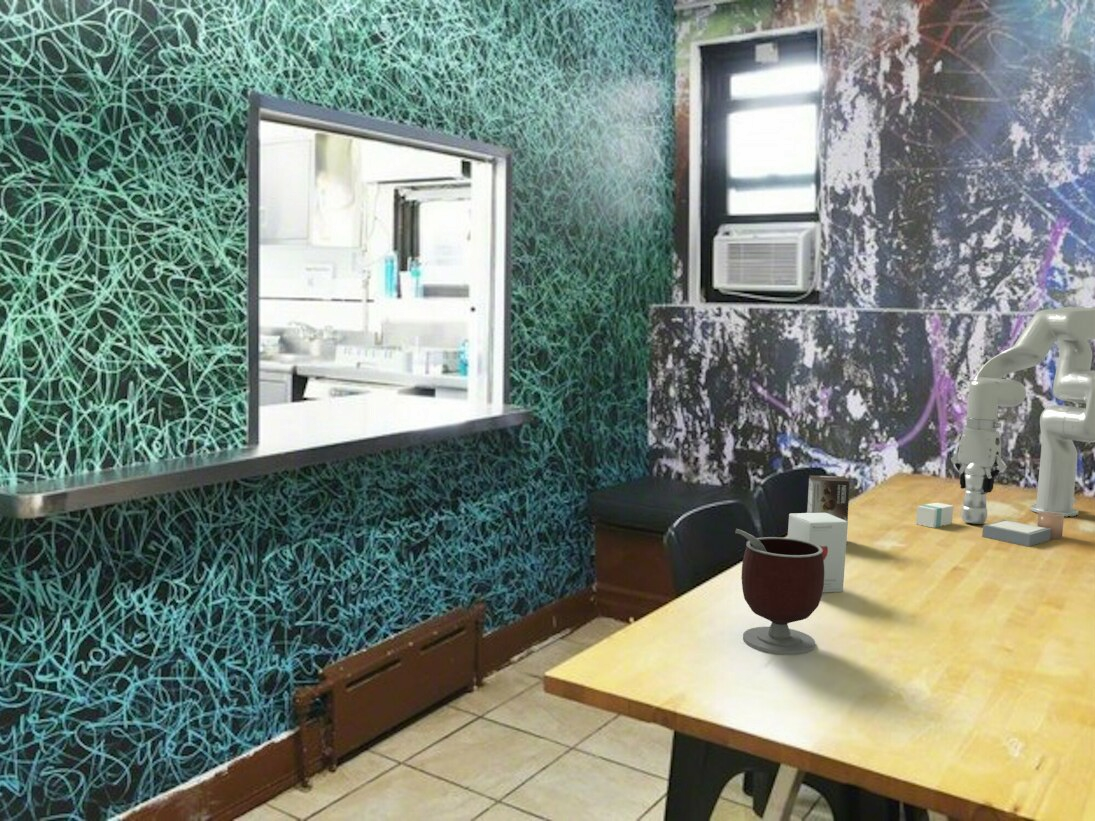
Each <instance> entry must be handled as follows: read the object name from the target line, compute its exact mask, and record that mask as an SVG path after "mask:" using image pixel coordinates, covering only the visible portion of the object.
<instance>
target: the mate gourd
mask: <svg viewBox="0 0 1095 821" xmlns="http://www.w3.org/2000/svg"><path fill="white" fill-rule="evenodd" d="M735 534H738V535H741V536H743V537H744V538H745V539H747V541H746V548H745V550H744V553H743V559H742V565H741V587H742V588H741V589H742V595H743V598H744V601H745V602H746V603H747V606H749V608H750V609H751V611H752V612H753V613H754V614H755V615H757V616H759V617H761V618H764V619H766V620H767V621H769V622H771V624H770V625H769V626H757V627H756V626H755V627H751V628H749V629H747V630H745V631H744V632H742V633H743V634H742V640H743V642H744V643H745V645H747V646H749V647H751V648H752V649H755V650H757V651H760V652H764V653H769V654H773V655H774V654H775V655H781V656H782V655H783V656H784V655H785V656H786V655H787V656H792V655H793V656H795V655H796V656H797V655H805V654H807V653H810V652H812V651H814V649H815V647H816V641H815V639H814V638H813V637H812V636H810V635H808V634H807V633H805V632H802V631H800V630H796V629H793V628H789V625H788V624H790V623H794V622H795V623H796V622H799V621H802V620H806V619H808V618H809V617H810V616H811V615H812V614H813V613H814V612H815V610H817V608H818V607H819V605H820V601H821V599H822V596H823V593H822V591H823V587H824V573H825V572H824V560H823V554H822V552H823V549H822V548H821V547H820V546H818V545H816V544H814V543H811V542H807V541H803V540H798V539H791V538H788V537H781V536H780V537H778V536H777V537H776V536H775V537H774V536H768V537H766V536H765V537H764V536H763V537H755V536H754V535H752V534H750V533H748V532H746V531H744V530H742V529H740V528H739V529H738V528H736V529H735Z"/></svg>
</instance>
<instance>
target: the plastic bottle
mask: <svg viewBox="0 0 1095 821" xmlns="http://www.w3.org/2000/svg"><path fill="white" fill-rule="evenodd" d="M985 478H987V475H986V471H985V468H984V467H981V466H979V465H978V464H975V463H971V464H968V465H967V466H966V467H965V488H964V489H965V492H964V499H963V505H962V508H961V512H960V515H961V519H962V521H963V522H965V523H968V524H971V525H982V524H984V523H985V522H987V519H988V510H987V509H988V508H987V494H988V493H985V492H984V483H985Z"/></svg>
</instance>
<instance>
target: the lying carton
mask: <svg viewBox="0 0 1095 821" xmlns="http://www.w3.org/2000/svg"><path fill="white" fill-rule="evenodd" d="M916 507H917V508H916V516H915V519H916V520H915V525H917V524H918V525H917V526H922V525H923V527H926V528H931V527H932V528H931V529H935V528H940V527H943V526H942V525H944V526H948V525H952V524H953V519H954V518H953V515H954V505H951V504H946V503H942V502H933V503H926V504H921V505H920V504H919V505H917V506H916ZM951 523H952V524H951ZM947 524H948V525H947ZM939 526H940V527H939Z"/></svg>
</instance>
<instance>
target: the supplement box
mask: <svg viewBox="0 0 1095 821" xmlns="http://www.w3.org/2000/svg"><path fill="white" fill-rule="evenodd" d="M848 526H849V521H845V520H843V519H840V518H838V517H835V516H833V515H831V514H828V513H807V512H801V513H800V512H799V513H798V512H797V513H796V512H795V513H789V514H788V529H787V538H791V539H798V540H803V541H807V542H811V543H814V544H816V545H818V546H820V547H821V548H822V549H823V552H822V554H823V560H824V572H825V573H824V587H823V591H822V594H824V593H825V594H826V593H841V592H844V579H845V566H846V552H847V543H846V541H847V540H848V538H847V537H848V528H849V527H848Z"/></svg>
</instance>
